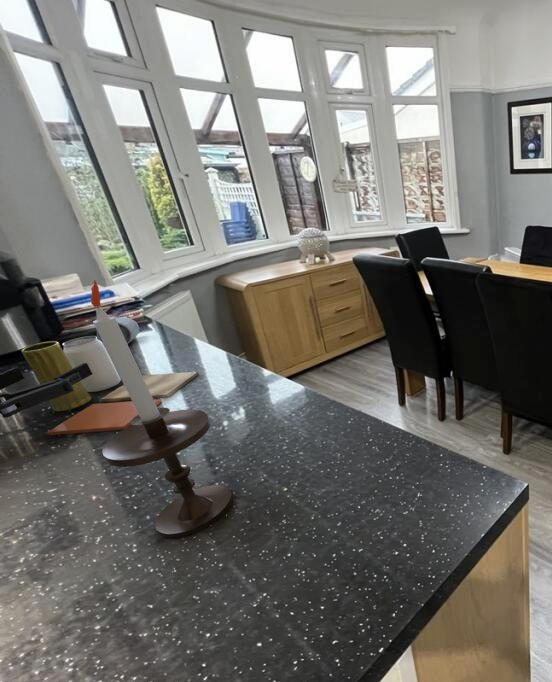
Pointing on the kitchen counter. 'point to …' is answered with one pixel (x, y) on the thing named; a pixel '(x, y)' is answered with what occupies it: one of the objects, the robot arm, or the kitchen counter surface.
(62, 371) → the vase
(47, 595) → the kitchen counter surface
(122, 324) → the ceramic mug
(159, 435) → the candlestick
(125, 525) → the kitchen counter surface
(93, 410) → the terracotta mat
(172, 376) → the birch mat
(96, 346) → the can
